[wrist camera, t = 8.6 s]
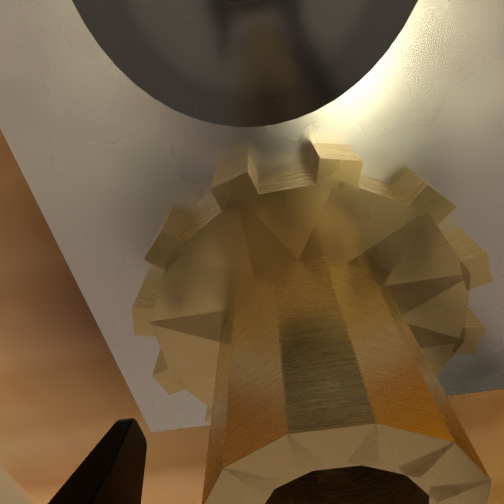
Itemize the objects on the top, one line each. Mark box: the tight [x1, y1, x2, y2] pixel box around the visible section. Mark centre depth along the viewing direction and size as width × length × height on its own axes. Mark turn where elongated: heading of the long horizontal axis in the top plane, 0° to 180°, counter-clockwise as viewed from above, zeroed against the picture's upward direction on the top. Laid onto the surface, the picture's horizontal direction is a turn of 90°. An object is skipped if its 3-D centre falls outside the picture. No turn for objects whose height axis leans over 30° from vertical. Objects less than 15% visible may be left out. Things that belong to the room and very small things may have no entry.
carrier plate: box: [0, 0, 504, 432], centre depth 9 cm, size 14×20×5 cm
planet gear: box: [132, 142, 493, 504], centre depth 10 cm, size 10×10×6 cm
